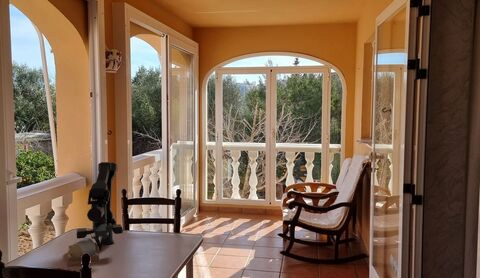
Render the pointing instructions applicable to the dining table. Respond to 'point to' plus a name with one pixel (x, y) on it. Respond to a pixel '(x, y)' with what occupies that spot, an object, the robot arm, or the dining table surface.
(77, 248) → the ceramic mug
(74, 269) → the dining table surface
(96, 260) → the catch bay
